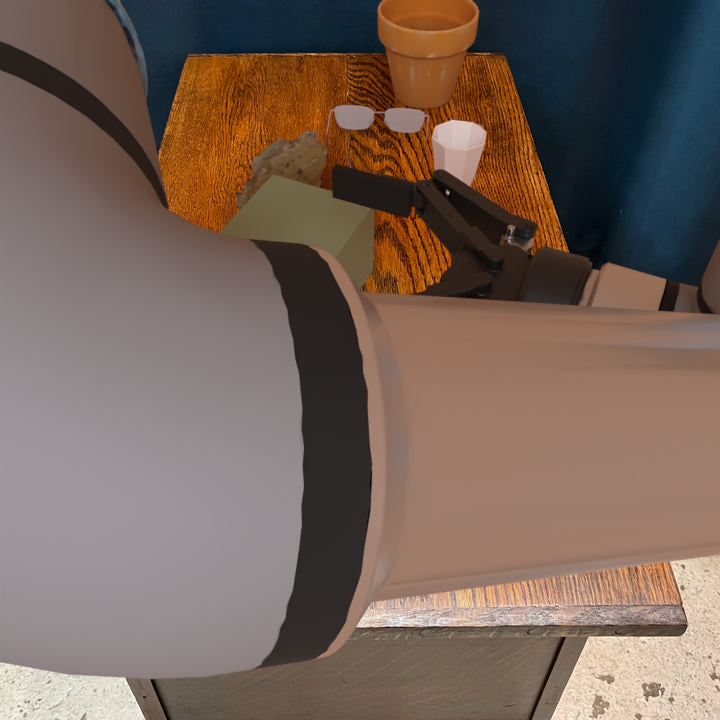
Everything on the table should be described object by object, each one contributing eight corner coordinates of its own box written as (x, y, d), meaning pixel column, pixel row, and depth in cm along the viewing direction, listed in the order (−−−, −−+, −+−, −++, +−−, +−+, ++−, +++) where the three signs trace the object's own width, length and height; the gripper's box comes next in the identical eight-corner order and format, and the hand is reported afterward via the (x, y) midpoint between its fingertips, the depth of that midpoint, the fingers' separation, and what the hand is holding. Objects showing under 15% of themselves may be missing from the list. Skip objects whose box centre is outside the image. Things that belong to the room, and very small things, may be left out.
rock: (334, 178, 102) (332, 107, 95) (321, 237, 92) (317, 162, 85) (254, 176, 103) (246, 105, 96) (232, 234, 92) (220, 159, 86)
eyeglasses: (427, 133, 107) (429, 109, 104) (424, 169, 103) (426, 145, 99) (331, 127, 108) (330, 103, 105) (323, 163, 104) (322, 138, 100)
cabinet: (316, 355, 79) (312, 288, 72) (214, 319, 83) (200, 252, 75) (373, 269, 88) (375, 202, 81) (279, 241, 92) (272, 174, 84)
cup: (416, 192, 98) (420, 138, 92) (454, 157, 104) (460, 103, 97) (463, 211, 95) (470, 156, 89) (500, 174, 101) (509, 119, 95)
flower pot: (387, 124, 109) (390, 35, 99) (367, 76, 118) (368, -9, 109) (480, 114, 111) (492, 26, 101) (454, 68, 120) (462, -17, 110)
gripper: (514, 495, 45) (210, 381, 50) (606, 248, 60) (363, 182, 66) (537, 419, 39) (191, 300, 45) (632, 167, 54) (364, 103, 60)
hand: (293, 230), depth 55 cm, fingers open, 13 cm apart
